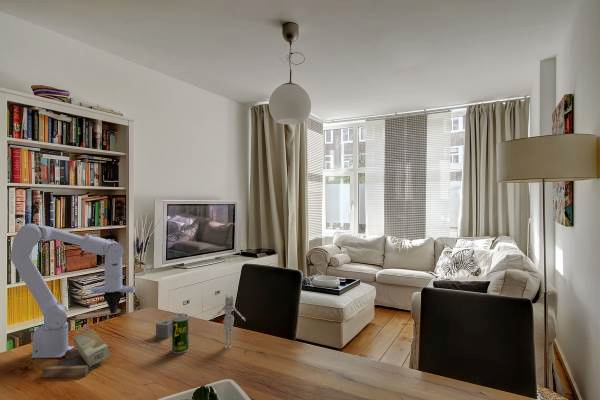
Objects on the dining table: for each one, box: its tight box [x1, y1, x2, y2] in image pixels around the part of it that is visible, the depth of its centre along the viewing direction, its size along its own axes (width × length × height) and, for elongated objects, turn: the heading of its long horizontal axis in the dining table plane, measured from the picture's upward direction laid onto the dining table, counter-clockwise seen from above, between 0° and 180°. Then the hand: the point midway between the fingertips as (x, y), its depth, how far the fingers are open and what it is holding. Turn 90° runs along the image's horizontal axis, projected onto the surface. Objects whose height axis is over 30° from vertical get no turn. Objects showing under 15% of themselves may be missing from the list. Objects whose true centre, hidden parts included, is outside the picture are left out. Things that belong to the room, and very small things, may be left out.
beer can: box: [171, 313, 190, 355], centre depth 125 cm, size 5×5×12 cm
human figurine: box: [212, 294, 246, 349], centre depth 129 cm, size 12×4×18 cm, turn 83°
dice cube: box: [155, 319, 172, 339], centre depth 138 cm, size 5×5×5 cm
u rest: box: [42, 349, 102, 378], centre depth 113 cm, size 12×13×2 cm
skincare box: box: [72, 327, 111, 367], centre depth 117 cm, size 6×4×12 cm
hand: (113, 312), depth 132 cm, fingers closed
